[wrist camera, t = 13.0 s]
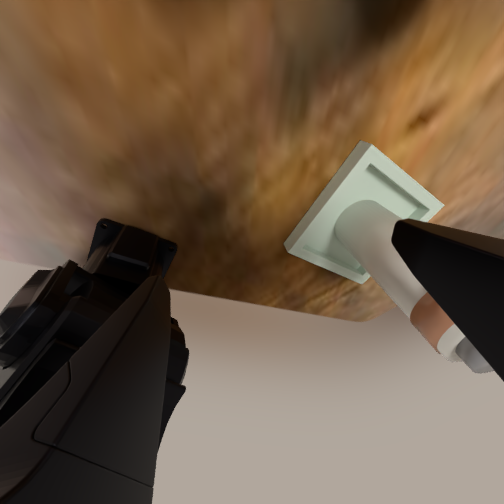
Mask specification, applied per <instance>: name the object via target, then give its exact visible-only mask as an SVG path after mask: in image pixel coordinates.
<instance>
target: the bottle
mask: <svg viewBox="0 0 504 504" xmlns="http://www.w3.org/2000/svg"><path fill="white" fill-rule="evenodd" d="M398 220H402V218H401V217H399V216H397V215H396V214H394V213H393V212H391V211H390V210H388V209H387V208H385V207H383V206H382V205H380V204H379V203H377V202H376V201H373V200H361V201H358V202H355V203H353V204H352V205H350V206H349V207H347V208H346V209H345V210H344V211H343V212H342V213H341V215H340V216H339V218H338V219H337V222H336V224H335V236H336V238H337V239H338V240H339V241H340V243H341V244H342V245H343V246H344V247H345V248H346V249H347V250H348V251H349V253H350V254H351V255H352V256H353V257H354V258H355V259H356V260H357V261H358V262H359V264H360V265H361V266H362V267H363V268H364V269H365V270H366V271H367V272H368V274H369V275H370V276H371V277H372V278H373V279H374V280H375V281H376V282H377V283H378V285H379V286H380V287H381V288H382V289H383V290H384V291H385V292H386V293H387V295H388V296H389V297H390V298H391V299H392V300H393V301H394V302H395V303H396V304H397V306H398V307H399V308H400V309H401V310H402V311H403V312H404V313H405V314H406V316H407V317H408V318H409V319H410V321H411V323H412V325H413V326H414V327H415V328H416V329H417V330H418V331H419V332H420V333H421V334H422V336H423V337H424V338H425V339H426V340H427V341H428V342H429V344H430V345H431V346H432V347H433V348H434V349H435V350H436V351H437V352H438V353H439V354H442V355H443V356H444V358H445V359H446V360H448V361H451V362H461V361H463V362H464V363H465V364H466V365H467V366H468V367H469V368H470V369H471V370H472V371H473V372H475V373H486V372H491V371H494V370H493V368H492V367H491V366H490V365H489V364H488V362H487V361H486V360H485V359H484V358H483V357H482V355H481V354H480V353H479V352H478V351H477V350H476V348H475V347H474V346H473V345H472V344H471V343H470V341H469V340H468V339H467V338H466V337H465V335H464V334H463V333H462V332H461V331H460V330H459V328H458V327H457V326H456V325H455V324H454V323H453V321H452V320H451V319H450V318H449V317H448V316H447V314H446V313H445V312H444V311H443V310H442V308H441V307H440V306H439V305H438V304H437V303H436V301H435V300H434V299H433V298H432V297H431V296H430V294H429V293H428V292H427V291H426V290H425V289H424V287H423V286H422V285H421V284H420V283H419V282H418V280H417V279H416V278H415V277H414V275H413V274H412V273H411V271H410V270H409V268H408V267H407V265H406V264H405V262H404V261H403V260H402V258H401V257H400V255H399V254H398V252H397V251H396V249H395V248H394V246H393V245H392V242H391V237H392V233H393V229H394V225H395V223H396V222H397V221H398Z"/></svg>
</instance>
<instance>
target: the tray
mask: <svg viewBox="0 0 504 504" xmlns="http://www.w3.org/2000/svg"><path fill="white" fill-rule="evenodd" d="M361 200H373V201H376V202H377V203H379V204H380V205H382V206H383V207H385V208H387V209H388V210H390V211H391V212H393V213H394V214H396V215H397V216H399V217H401V218H402V219H407V218H410V219H414V220H419V221H423V222H428V221H429V220H430V219H431V218H432V217H433V216H434V215H435V214H436V213H437V212H438V211H439V210H440V209H441V208H442V207H443V206H444V205H443V204H442V203H441V202H440V201H439V200H438V199H436V198H435V197H434V196H433V195H432V194H430V193H429V192H428V191H427V190H426V189H424V188H423V187H422V186H421V185H420V184H419V183H417V182H416V181H415V180H414V179H413V178H411V177H410V176H409V175H408V174H407V173H405V172H404V171H403V170H402V169H401V168H400V167H398V166H397V165H396V164H395V163H394V162H392V161H391V160H390V159H389V158H388V157H387V156H385V155H384V154H383V153H382V152H381V151H379V150H378V149H377V148H376V147H375V146H373V145H372V144H370V143H367V142H364V141H361V140H360V141H359V143H358V144H357V145H356V147H355V148H354V150H353V151H352V152H351V154H350V155H349V156H348V158H347V159H346V160H345V162H344V163H343V164H342V166H341V167H340V168H339V170H338V171H337V172H336V174H335V175H334V176H333V178H332V179H331V180H330V182H329V183H328V184H327V186H326V187H325V188H324V190H323V191H322V192H321V194H320V195H319V197H318V198H317V199H316V201H315V202H314V203H313V205H312V206H311V207H310V209H309V210H308V211H307V213H306V214H305V215H304V217H303V218H302V219H301V221H300V222H299V223H298V225H297V226H296V227H295V229H294V230H293V231H292V233H291V234H290V235H289V237H288V238H287V240H286V241H285V242H284V246H285V248H286V250H287V252H288V253H290V254H292V255H295V256H297V257H299V258H302V259H304V260H306V261H309V262H311V263H313V264H316V265H318V266H320V267H323V268H325V269H327V270H330V271H332V272H334V273H337V274H339V275H341V276H344V277H346V278H348V279H351V280H353V281H355V282H358V283H360V284H363V283H364V282H365V281H366V280H367V279H368V278H369V277H370V275H369V274H368V272H367V271H366V270H365V269H364V268H363V267H362V266H361V265H360V264H359V262H358V261H357V260H356V259H355V258H354V257H353V256H352V255H351V254H350V253H349V251H348V250H347V249H346V248H345V247H344V246H343V245H342V244H341V243H340V241H339V240H338V239H337V238H336V236H335V224H336V222H337V219H338V218H339V216H340V215H341V213H342V212H343V211H344V210H345V209H346V208H347V207H349V206H350V205H352V204H353V203H355V202H358V201H361Z"/></svg>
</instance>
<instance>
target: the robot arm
mask: <svg viewBox="0 0 504 504" xmlns="http://www.w3.org/2000/svg"><path fill="white" fill-rule="evenodd" d="M102 223H103V224H106V225H107V227H106V226H103V224H102ZM391 242H392V245H393V246H394V248H395V249H396V251H397V252H398V254H399V255H400V257H401V258H402V260H403V261H404V262H405V264H406V265H407V267H408V268H409V270H410V271H411V273H412V274H413V275H414V277H415V278H416V279H417V280H418V282H419V283H420V284H421V285H422V286H423V287H424V289H425V290H426V291H427V292H428V293H429V294H430V296H431V297H432V298H433V299H434V300H435V301H436V303H437V304H438V305H439V306H440V307H441V308H442V310H443V311H444V312H445V313H446V314H447V316H448V317H449V318H450V319H451V320H452V321H453V323H454V324H455V325H456V326H457V327H458V328H459V330H460V331H461V332H462V333H463V334H464V335H465V337H466V338H467V339H468V340H469V341H470V343H471V344H472V345H473V346H474V347H475V348H476V350H477V351H478V352H479V353H480V354H481V355H482V357H483V358H484V359H485V360H486V361H487V362H488V364H489V365H490V366H491V367H492V368H493V370H494V371H495V372H496V373H497V374H498V375H499V377H500V378H501V379H502V380H503V381H504V240H503V239H499V238H494V237H490V236H486V235H481V234H477V233H472V232H468V231H463V230H459V229H454V228H450V227H445V226H441V225H437V224H432V223H428V222H423V221H419V220H414V219H410V218H407V219H402V220H398V221H397V222H396V223H395V225H394V229H393V233H392V237H391ZM169 247H173V248H174V249H170V248H169ZM176 251H177V245H176V244H175V243H173V242H170V241H167V240H164V239H162V238H159V237H157V236H156V235H153V234H150V233H147V232H144V231H142V230H139V229H136V228H133V227H130V226H125V225H122V224H120V223H117V222H114V221H111V220H108V219H105V218H104V219H100V220H99V222H98V223H97V226H96V229H95V233H94V237H93V240H92V244H91V248H90V252H89V255H88V259H87V263H86V264H85V266H84V267H83V269H82V268H80V267H79V266H78V264H77V263H75V262H73V261H71V260H70V259H69V260H68V261H67V262H66V263H65V264H64V265H63V266H62V267H61V266H58V267H57V268H56V269H53V270H38V271H37V272H36V273H35V274H34V275H33V276H32V277H31V278H30V279H29V280H28V281H27V282H26V283H25V284H24V286H22V288H21V289H20V290H19V291H18V292H17V293H16V294H15V295H14V296H13V298H12V299H11V300H10V301H9V303H8V304H7V305H6V307H5V308H4V309H3V311H2V312H1V313H0V504H152V497H153V488H152V487H153V485H154V478H155V469H156V459H157V453H158V450H159V446H160V443H161V440H162V437H163V434H164V431H165V428H166V426H167V423H168V421H169V419H170V416H171V415H172V412H173V410H174V408H175V406H176V405H177V403H178V402H179V400H180V399H181V397H182V395H183V394H184V392H185V390H186V387H185V386H184V385H181V384H182V381H183V379H184V376H185V372H186V368H187V365H188V359H189V350H188V348H186V346H185V338H184V333H183V332H182V330H181V329H180V328H179V325H178V322H177V320H176V319H174V318H172V317H171V316H170V315H171V312H170V292H169V289H168V287H167V285H166V284H165V282H164V280H163V278H164V276H165V274H166V272H167V270H168V268H169V266H170V264H171V262H172V260H173V257H174V255H175V253H176Z"/></svg>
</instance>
